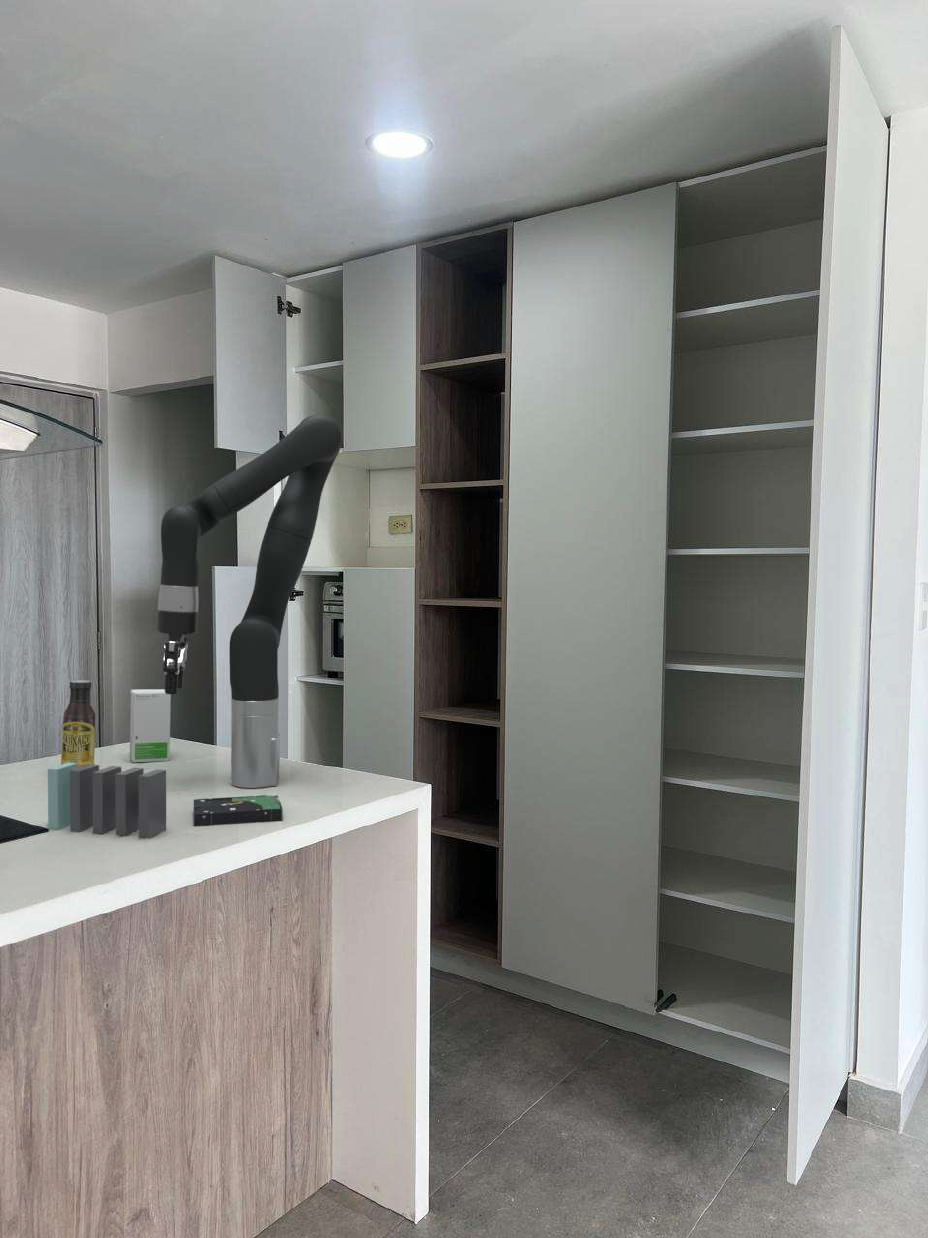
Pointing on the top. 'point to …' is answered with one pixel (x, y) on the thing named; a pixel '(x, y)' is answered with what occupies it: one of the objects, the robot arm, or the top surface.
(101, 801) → the domino
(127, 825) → the domino
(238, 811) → the disk drive
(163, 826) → the domino
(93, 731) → the sauce bottle
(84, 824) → the domino
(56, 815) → the domino
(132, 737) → the skincare box
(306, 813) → the top surface
